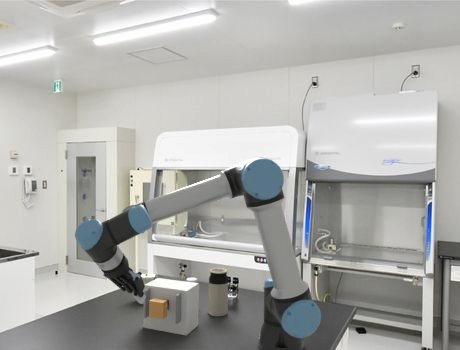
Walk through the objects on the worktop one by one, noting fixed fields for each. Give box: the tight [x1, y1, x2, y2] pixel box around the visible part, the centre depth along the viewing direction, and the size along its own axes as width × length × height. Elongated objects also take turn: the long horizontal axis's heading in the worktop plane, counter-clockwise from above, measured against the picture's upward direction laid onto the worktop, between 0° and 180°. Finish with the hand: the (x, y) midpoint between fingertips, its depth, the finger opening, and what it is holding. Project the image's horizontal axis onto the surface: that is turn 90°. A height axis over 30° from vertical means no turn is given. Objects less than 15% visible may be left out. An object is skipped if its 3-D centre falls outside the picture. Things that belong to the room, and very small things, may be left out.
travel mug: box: [208, 267, 229, 318], centre depth 155 cm, size 8×8×18 cm
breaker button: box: [149, 298, 169, 319], centre depth 134 cm, size 7×6×6 cm
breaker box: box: [142, 277, 200, 336], centre depth 140 cm, size 13×18×16 cm
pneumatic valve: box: [141, 272, 159, 292], centre depth 170 cm, size 6×12×12 cm, turn 93°
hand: (142, 299), depth 125 cm, fingers closed
